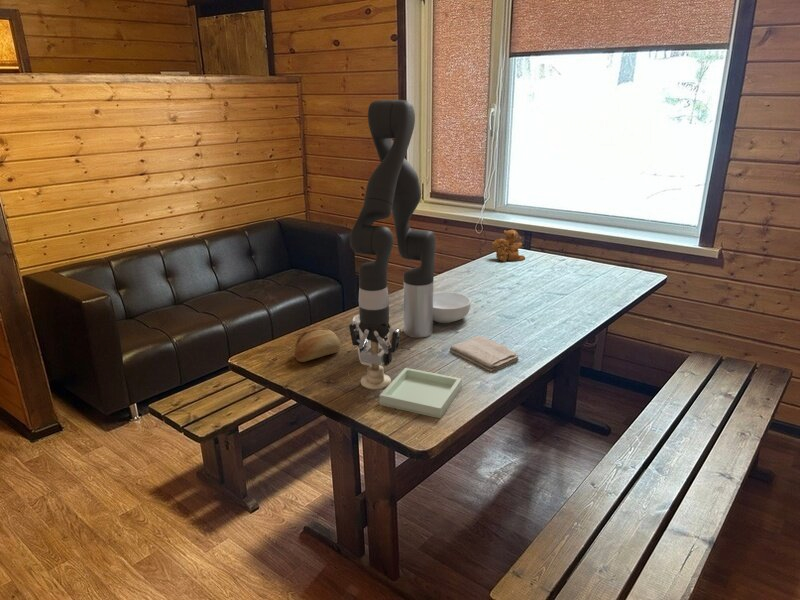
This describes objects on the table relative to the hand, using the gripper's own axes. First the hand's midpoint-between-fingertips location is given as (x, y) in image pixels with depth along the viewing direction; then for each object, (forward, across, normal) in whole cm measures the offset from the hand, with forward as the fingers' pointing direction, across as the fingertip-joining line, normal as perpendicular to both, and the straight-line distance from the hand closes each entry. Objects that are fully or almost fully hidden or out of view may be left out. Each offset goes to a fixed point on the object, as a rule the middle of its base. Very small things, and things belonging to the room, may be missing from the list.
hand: (375, 362), depth 153 cm
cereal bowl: (+7, -2, -49) cm, 49 cm away
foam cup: (+6, +7, -11) cm, 14 cm away
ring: (-1, 0, 0) cm, 1 cm away
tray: (+6, -14, +2) cm, 15 cm away
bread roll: (+6, +23, -8) cm, 25 cm away
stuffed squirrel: (+8, -4, -125) cm, 126 cm away
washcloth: (+7, -22, -26) cm, 35 cm away
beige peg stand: (+6, 0, 0) cm, 6 cm away
